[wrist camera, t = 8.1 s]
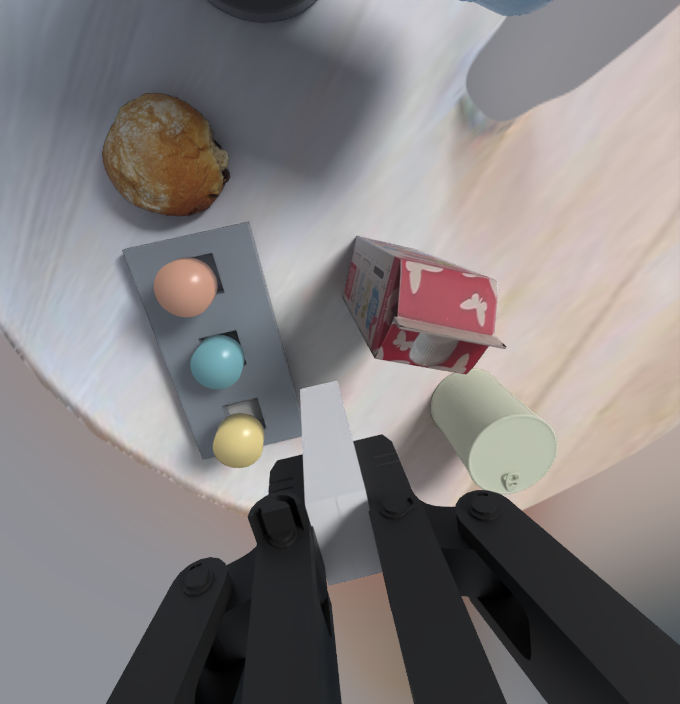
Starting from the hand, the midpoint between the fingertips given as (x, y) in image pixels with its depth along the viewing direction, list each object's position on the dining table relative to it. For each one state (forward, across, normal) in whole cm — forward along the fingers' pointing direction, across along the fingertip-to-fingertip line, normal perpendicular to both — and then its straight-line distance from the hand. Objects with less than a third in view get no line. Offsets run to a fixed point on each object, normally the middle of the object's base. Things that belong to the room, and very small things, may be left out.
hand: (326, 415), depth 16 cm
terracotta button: (+26, -10, +3) cm, 28 cm away
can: (+30, +16, -19) cm, 39 cm away
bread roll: (+30, -9, +14) cm, 34 cm away
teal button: (+28, -10, -5) cm, 30 cm away
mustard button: (+26, -10, -13) cm, 31 cm away
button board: (+29, -10, -5) cm, 31 cm away
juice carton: (+30, +8, -1) cm, 31 cm away
